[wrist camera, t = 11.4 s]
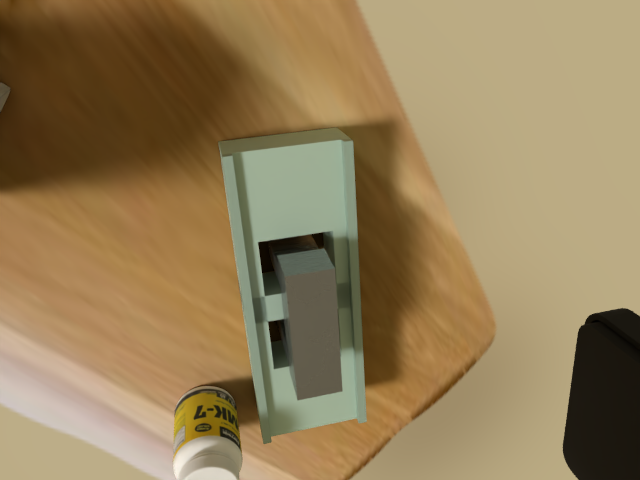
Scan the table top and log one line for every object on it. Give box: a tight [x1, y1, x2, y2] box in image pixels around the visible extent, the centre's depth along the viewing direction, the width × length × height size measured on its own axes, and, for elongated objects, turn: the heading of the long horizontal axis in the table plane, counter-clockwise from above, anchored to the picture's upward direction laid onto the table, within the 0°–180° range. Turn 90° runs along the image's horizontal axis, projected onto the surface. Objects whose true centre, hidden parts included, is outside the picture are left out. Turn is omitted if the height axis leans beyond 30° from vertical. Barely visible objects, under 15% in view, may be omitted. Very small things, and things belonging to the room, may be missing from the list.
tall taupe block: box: [268, 234, 343, 400], centre depth 38 cm, size 9×3×8 cm, turn 4°
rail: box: [218, 127, 367, 444], centre depth 40 cm, size 22×8×4 cm, turn 4°
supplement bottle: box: [173, 386, 242, 480], centre depth 41 cm, size 5×5×8 cm
